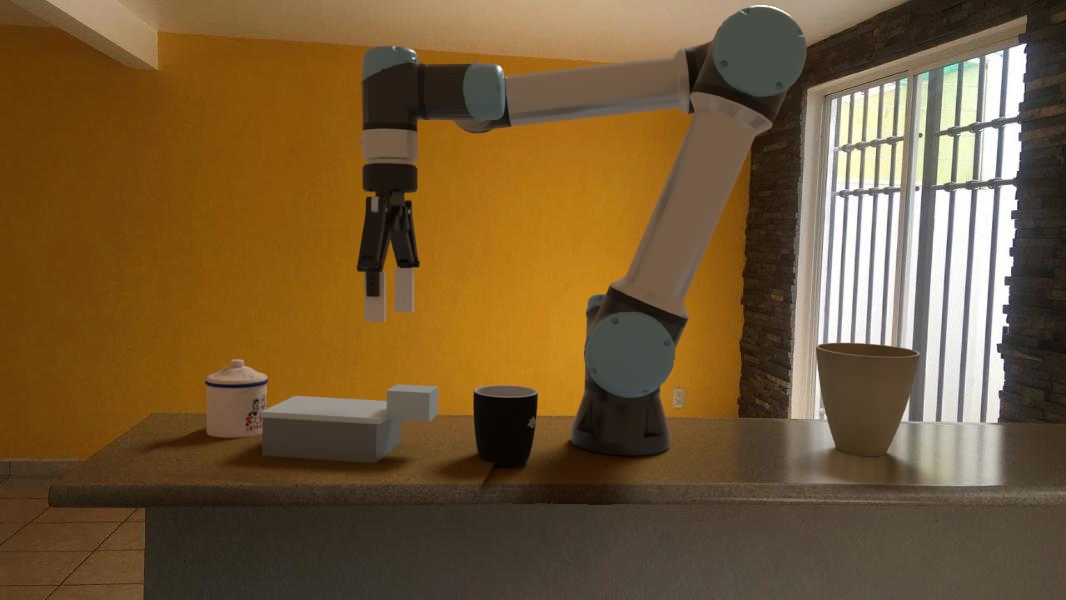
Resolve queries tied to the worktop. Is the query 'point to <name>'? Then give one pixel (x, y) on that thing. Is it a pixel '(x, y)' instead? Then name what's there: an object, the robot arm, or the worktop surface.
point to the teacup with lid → (236, 401)
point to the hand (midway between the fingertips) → (390, 316)
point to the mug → (505, 423)
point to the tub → (329, 439)
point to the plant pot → (865, 393)
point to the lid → (362, 407)
